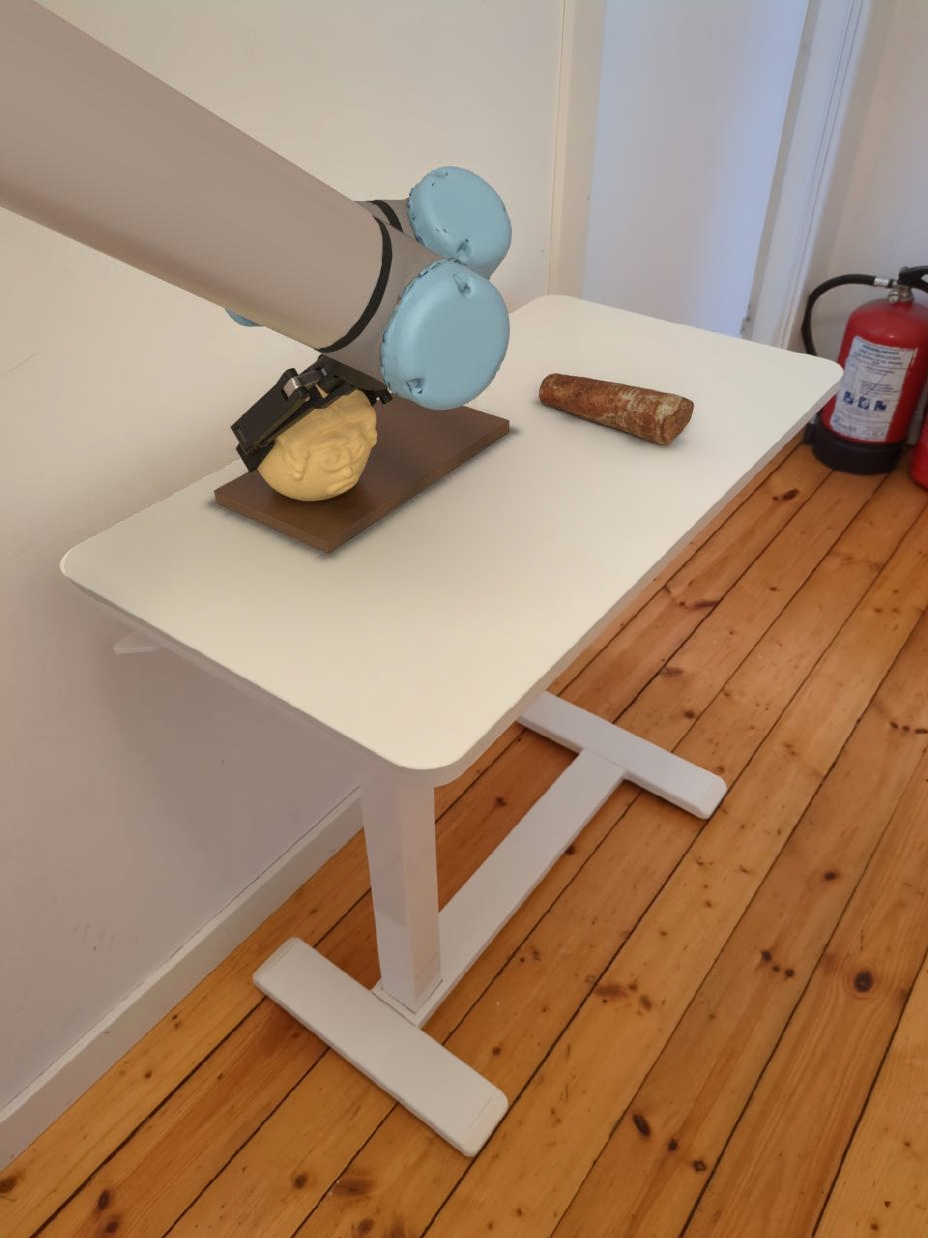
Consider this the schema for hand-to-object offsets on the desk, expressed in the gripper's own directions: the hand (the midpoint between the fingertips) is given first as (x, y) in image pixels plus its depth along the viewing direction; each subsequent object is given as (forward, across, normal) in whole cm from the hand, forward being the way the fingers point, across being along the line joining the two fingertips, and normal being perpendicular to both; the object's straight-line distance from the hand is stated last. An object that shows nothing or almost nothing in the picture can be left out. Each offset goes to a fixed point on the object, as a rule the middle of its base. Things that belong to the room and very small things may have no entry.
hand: (296, 438), depth 91 cm
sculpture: (+1, 0, -5) cm, 5 cm away
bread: (-6, +33, -14) cm, 36 cm away
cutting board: (+3, +8, -5) cm, 10 cm away
